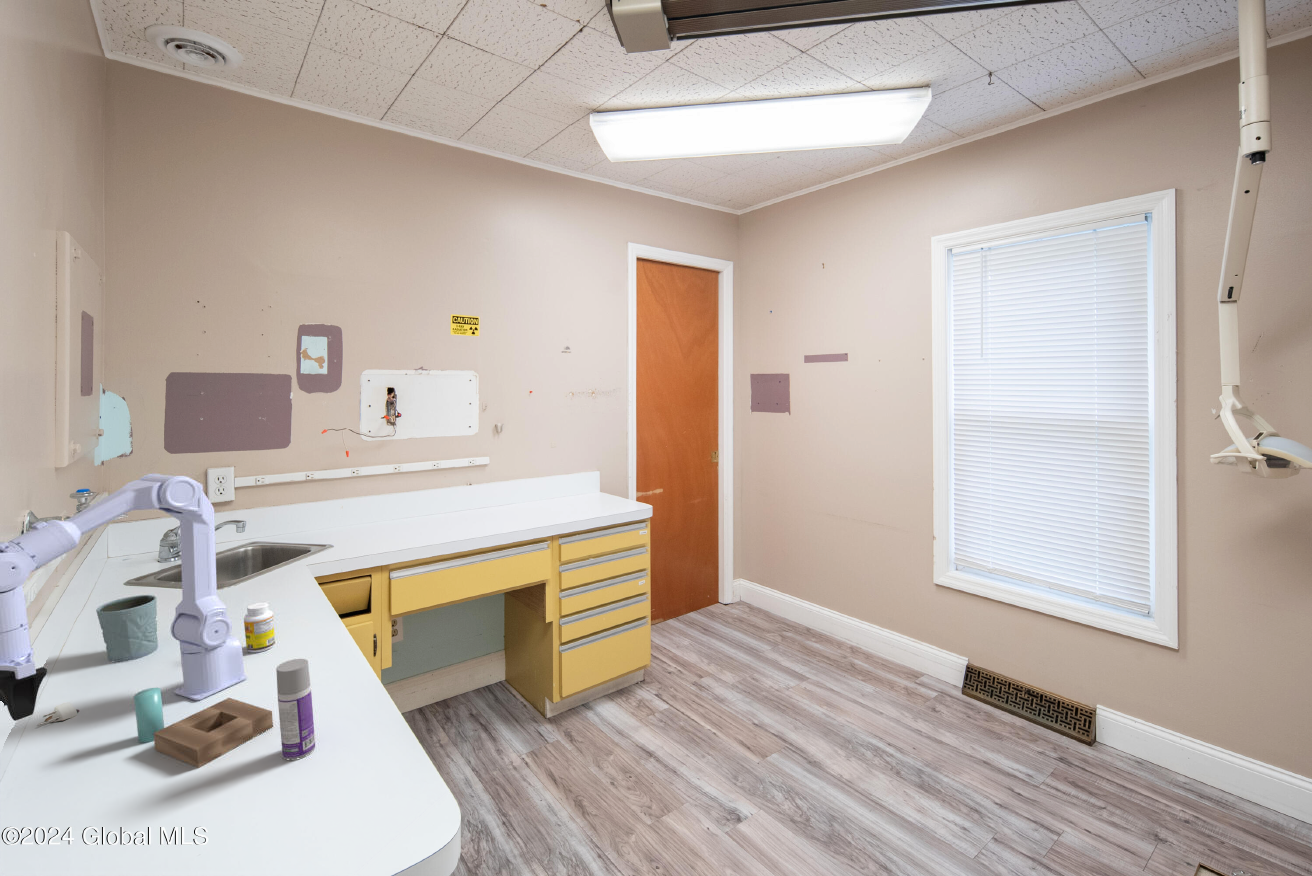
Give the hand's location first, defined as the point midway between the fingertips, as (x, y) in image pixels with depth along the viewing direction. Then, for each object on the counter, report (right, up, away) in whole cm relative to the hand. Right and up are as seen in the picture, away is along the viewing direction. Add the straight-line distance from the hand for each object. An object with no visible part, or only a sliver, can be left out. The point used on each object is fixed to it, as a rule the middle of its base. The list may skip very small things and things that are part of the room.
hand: (12, 711), depth 94 cm
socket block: (+25, -9, +9) cm, 28 cm away
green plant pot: (-18, -6, +42) cm, 46 cm away
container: (+42, -9, +5) cm, 43 cm away
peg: (+14, -9, +10) cm, 19 cm away
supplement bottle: (+10, -6, +44) cm, 46 cm away
